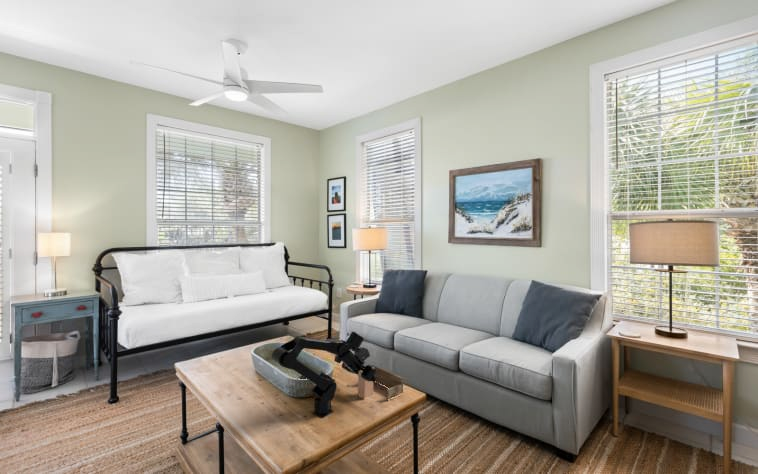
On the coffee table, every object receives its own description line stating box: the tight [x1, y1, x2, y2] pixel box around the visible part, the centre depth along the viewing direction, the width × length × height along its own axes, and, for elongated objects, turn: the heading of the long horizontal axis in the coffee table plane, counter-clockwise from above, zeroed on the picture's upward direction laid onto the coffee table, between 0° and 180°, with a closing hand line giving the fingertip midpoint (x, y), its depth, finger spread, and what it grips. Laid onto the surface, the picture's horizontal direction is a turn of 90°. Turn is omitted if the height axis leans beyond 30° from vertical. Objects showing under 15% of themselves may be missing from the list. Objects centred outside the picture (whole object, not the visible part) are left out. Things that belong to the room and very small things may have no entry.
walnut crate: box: [371, 364, 404, 400], centre depth 168 cm, size 9×21×8 cm, turn 42°
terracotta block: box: [357, 370, 374, 399], centre depth 162 cm, size 5×5×12 cm
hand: (368, 377), depth 163 cm, fingers open, 9 cm apart
